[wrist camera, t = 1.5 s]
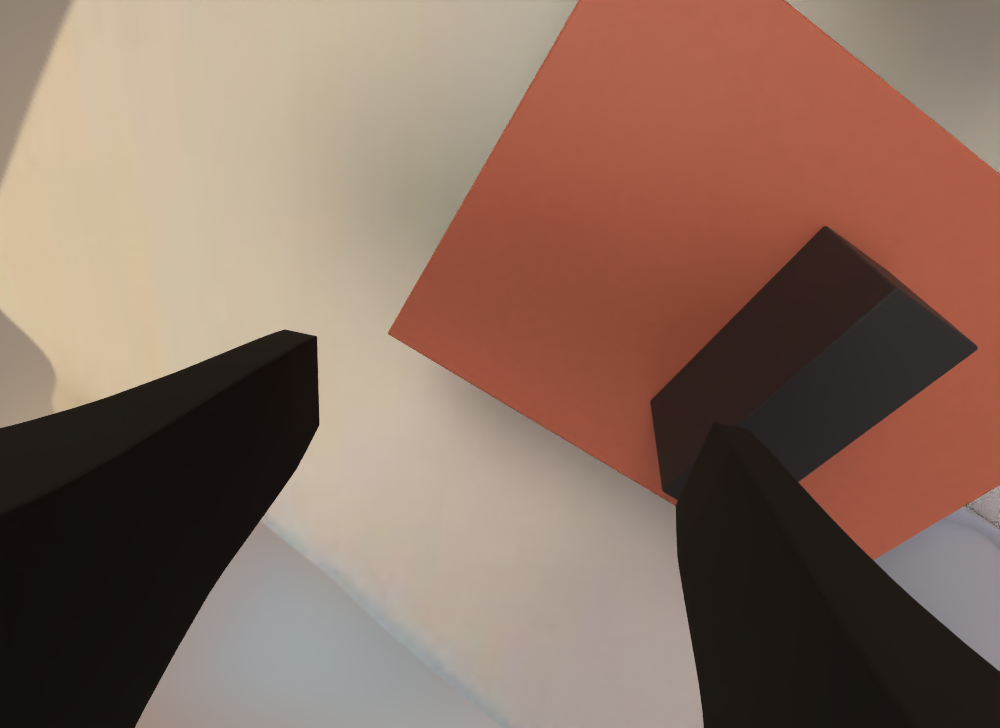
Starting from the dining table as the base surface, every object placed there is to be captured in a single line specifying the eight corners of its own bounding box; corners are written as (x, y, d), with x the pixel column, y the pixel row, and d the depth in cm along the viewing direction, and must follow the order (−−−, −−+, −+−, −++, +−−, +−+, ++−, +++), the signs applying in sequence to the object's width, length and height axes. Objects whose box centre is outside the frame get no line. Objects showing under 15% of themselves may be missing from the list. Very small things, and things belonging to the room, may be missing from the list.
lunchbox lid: (1197, 340, 13) (1423, 457, 9) (814, 577, 19) (864, 706, 15) (642, -107, 10) (662, -177, 7) (393, 324, 16) (335, 407, 13)
